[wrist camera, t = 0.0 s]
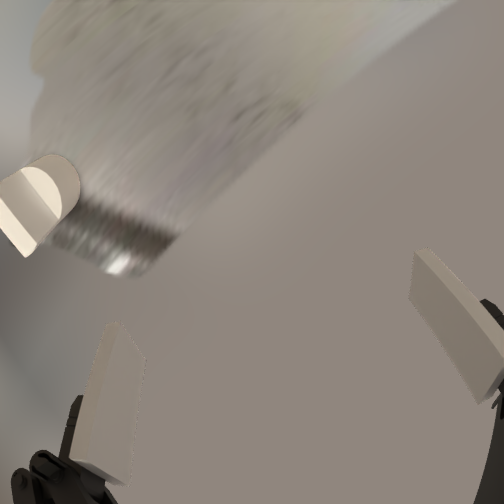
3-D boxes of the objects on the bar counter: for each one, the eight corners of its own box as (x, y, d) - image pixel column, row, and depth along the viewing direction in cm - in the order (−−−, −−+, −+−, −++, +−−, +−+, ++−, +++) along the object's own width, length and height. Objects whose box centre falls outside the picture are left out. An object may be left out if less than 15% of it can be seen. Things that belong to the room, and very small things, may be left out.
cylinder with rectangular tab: (92, 190, 36) (52, 230, 26) (55, 226, 38) (15, 271, 28) (54, 141, 32) (3, 166, 22) (20, 182, 34) (-29, 216, 24)
